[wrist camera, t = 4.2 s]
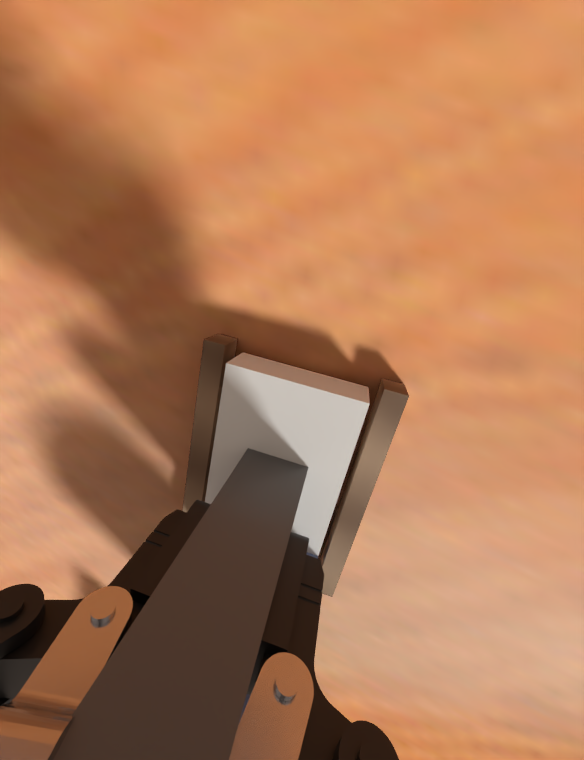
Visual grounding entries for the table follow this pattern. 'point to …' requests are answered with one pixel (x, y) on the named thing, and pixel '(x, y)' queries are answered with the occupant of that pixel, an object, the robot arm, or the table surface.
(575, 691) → the table surface
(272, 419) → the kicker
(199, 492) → the track
